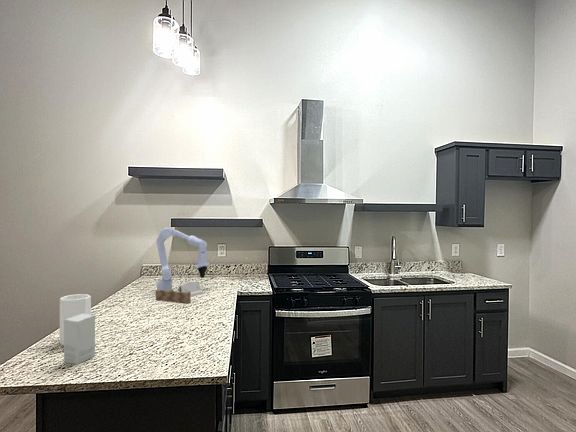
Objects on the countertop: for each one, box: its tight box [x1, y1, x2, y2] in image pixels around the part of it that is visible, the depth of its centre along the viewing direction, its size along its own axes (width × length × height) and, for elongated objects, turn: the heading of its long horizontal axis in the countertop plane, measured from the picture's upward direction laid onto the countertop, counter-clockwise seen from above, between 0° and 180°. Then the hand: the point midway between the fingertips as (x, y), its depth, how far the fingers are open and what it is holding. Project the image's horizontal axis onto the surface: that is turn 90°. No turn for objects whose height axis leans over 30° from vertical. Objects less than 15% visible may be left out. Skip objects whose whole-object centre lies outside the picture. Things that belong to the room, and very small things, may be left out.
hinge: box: [177, 281, 204, 298], centre depth 237 cm, size 17×5×10 cm, turn 148°
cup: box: [59, 293, 92, 347], centre depth 150 cm, size 11×11×18 cm
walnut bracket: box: [155, 289, 192, 304], centre depth 223 cm, size 24×9×6 cm, turn 70°
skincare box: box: [63, 313, 96, 365], centre depth 131 cm, size 8×7×16 cm
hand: (202, 277), depth 250 cm, fingers closed
